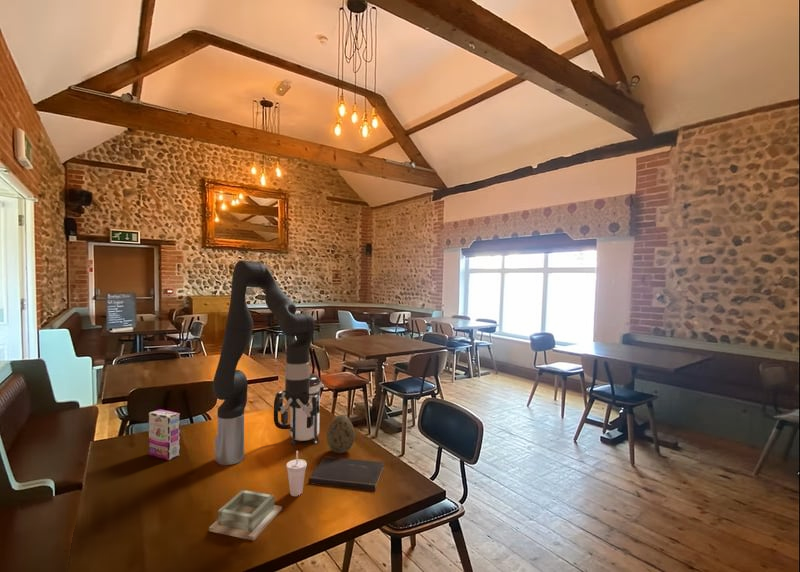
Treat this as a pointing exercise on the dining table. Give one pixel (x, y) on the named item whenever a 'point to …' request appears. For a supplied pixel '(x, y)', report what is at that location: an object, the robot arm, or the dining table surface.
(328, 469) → the hardcover book
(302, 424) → the coffee press
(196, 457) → the dining table surface
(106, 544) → the dining table surface
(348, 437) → the decorative egg
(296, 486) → the smoothie
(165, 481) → the dining table surface
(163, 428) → the candy bar box
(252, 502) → the green glass shallow box
